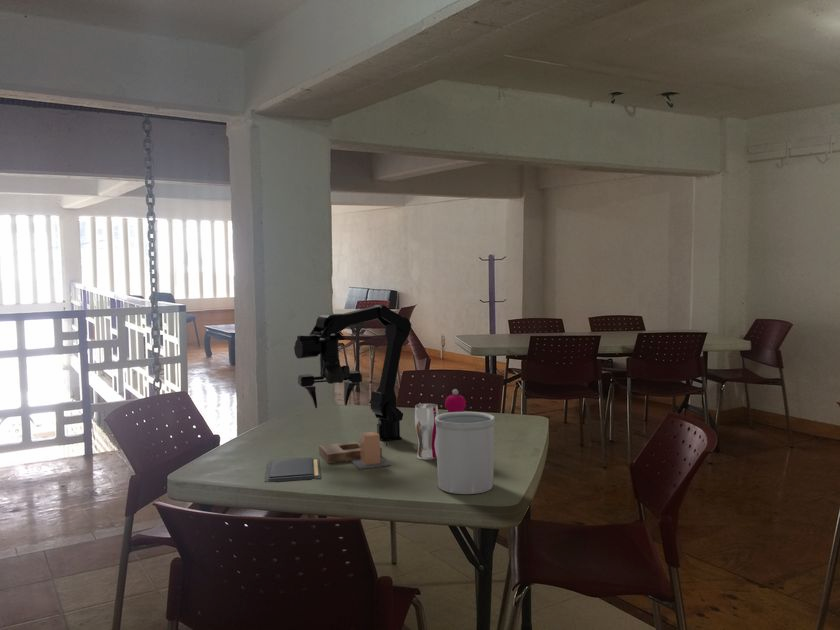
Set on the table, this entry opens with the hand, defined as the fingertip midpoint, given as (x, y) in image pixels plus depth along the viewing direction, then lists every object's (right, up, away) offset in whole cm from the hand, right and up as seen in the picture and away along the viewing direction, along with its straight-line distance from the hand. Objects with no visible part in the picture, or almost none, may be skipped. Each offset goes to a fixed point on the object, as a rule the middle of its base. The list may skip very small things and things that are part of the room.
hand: (330, 406), depth 212 cm
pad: (+13, -14, -16) cm, 25 cm away
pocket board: (+7, -13, -7) cm, 17 cm away
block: (+13, -13, -16) cm, 25 cm away
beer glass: (+29, -13, -11) cm, 34 cm away
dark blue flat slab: (-8, -16, -21) cm, 27 cm away
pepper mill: (+38, -13, -13) cm, 42 cm away
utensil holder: (+39, -15, -38) cm, 56 cm away
